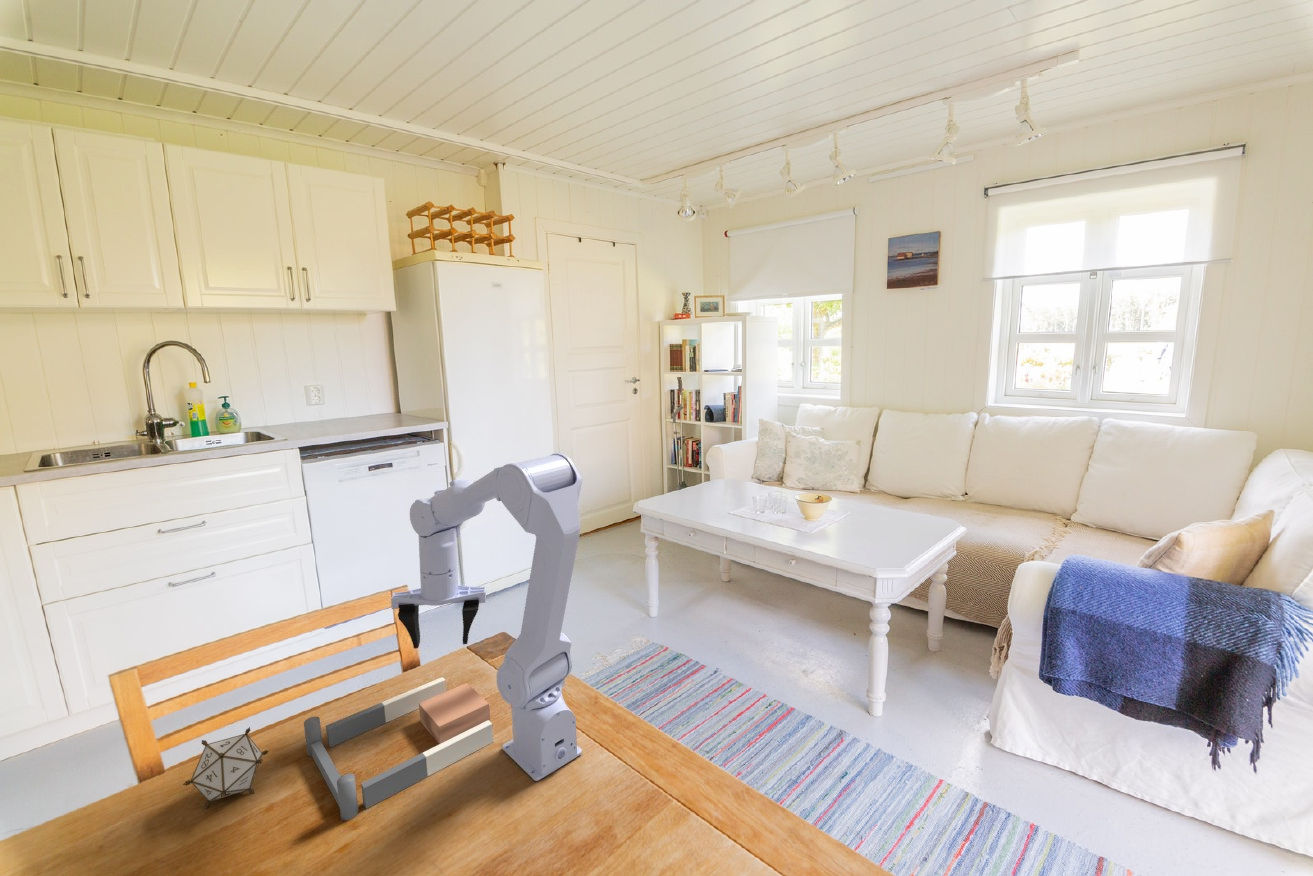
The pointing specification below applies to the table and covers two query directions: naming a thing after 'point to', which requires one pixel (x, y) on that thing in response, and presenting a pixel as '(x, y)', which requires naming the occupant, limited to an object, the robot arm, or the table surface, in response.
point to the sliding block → (453, 712)
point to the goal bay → (345, 784)
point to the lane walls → (450, 748)
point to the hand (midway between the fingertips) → (441, 643)
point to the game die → (227, 767)
